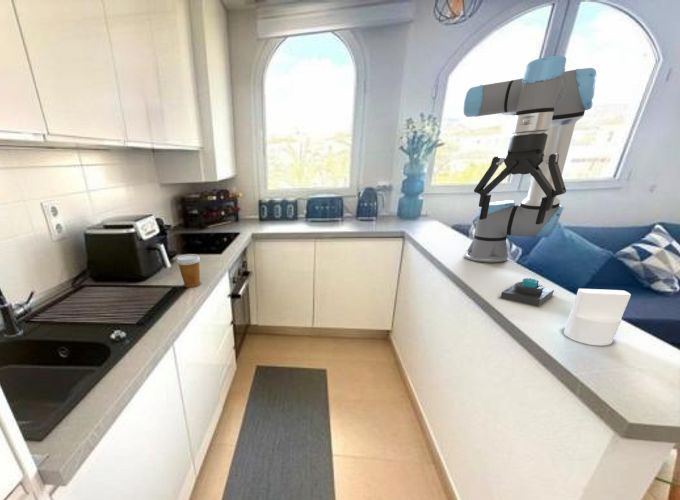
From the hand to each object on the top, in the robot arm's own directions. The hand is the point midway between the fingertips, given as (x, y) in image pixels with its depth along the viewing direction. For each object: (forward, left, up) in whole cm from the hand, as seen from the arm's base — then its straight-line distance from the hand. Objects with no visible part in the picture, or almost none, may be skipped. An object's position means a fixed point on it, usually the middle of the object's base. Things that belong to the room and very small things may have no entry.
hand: (509, 221), depth 94 cm
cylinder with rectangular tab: (+3, +23, -26) cm, 35 cm away
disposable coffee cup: (+55, -92, -26) cm, 110 cm away
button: (-15, +4, -22) cm, 27 cm away
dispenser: (-15, +4, -26) cm, 30 cm away
